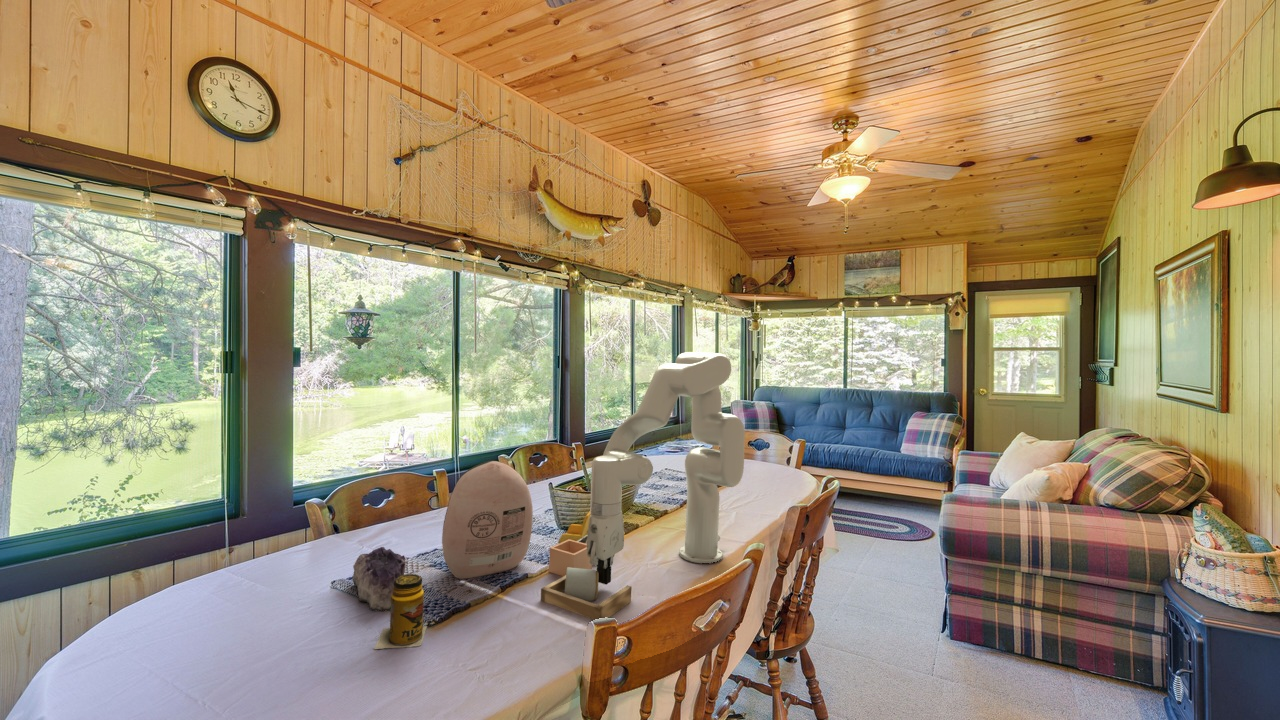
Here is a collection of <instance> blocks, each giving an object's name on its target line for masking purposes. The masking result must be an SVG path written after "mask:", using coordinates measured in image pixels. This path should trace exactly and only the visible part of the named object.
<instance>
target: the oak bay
mask: <svg viewBox="0 0 1280 720" xmlns="http://www.w3.org/2000/svg"><path fill="white" fill-rule="evenodd" d="M565 581H566V575H565V576H561V577H560V578H558V579H556V580H554V581H553V582H551V583H549V584H547V585H545V586H543V587H542V588H541V589H540V601H542V602H544V603H546V604H549V605H552V606H554V607H558V608H561V609H563V610H567V611H569V612H572V613H575V614H577V615H580V616H583V617H586V618H588V619H592V620H595V619H599V618H605V617H609V618H610V617H612V616H613V615H614V614H615V613H617V612H618V611H620V610H622V608H624V607H626V605H628V604H629V603H631V602H632V587H633V586H631V585H629V584H628V585H625V586H624V587H622V588H621V589H620V590H618V591H616V592H615V593H613V595H611V596H609V597H608V598H606V599H605V600H603V601H602V602H601V603H599V604H596V603H593V602H591V601H585V600H582V599H579V598H576V597H573V596H570V595H567V594H564V593H565Z"/></svg>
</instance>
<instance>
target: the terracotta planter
mask: <svg viewBox="0 0 1280 720" xmlns="http://www.w3.org/2000/svg"><path fill="white" fill-rule="evenodd" d="M548 557H549V559H548V560H549V561H548V573H551V574H555V575H557V576H561V577H564V576H565V575H566V571H567V567H571V568H581V569H592V570H593V565H592V564H590V563H589V562H590V557H589V556H588V555H587V544H585V543H581V542H577V541H574V540H570V539H568V540H566V541H564V542H562V543H557V544H555V545H553V546H551V547H549V556H548Z"/></svg>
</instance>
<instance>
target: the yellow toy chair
mask: <svg viewBox="0 0 1280 720" xmlns="http://www.w3.org/2000/svg"><path fill="white" fill-rule="evenodd" d="M590 515H591V514H590V510H589V511H588V513H586V515H585V516H584V518H583V522H582V524H577V523H575V524H574V523H571V524H570V525H569V526H568V529H567V531H566V533H562V534H561V535H560V538H559V540H558V541H557V544H560V543H562V542H564V541H566V540H568V539H570V540H574V541H578V540H580V539H581V538H582V537H584V536H585V535H587V534H588V526H589V520H590Z"/></svg>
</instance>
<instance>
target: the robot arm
mask: <svg viewBox="0 0 1280 720" xmlns="http://www.w3.org/2000/svg"><path fill="white" fill-rule="evenodd" d="M731 373H732V363H731V361H730V359H729V357H727V356H726V355H725V354H722V353H719V352H701V351H687V352H682V353H679V354H678V355H677V357H676V358H675V362H674V363H672V362H671V363H663V364H661V365H659V366H658V367H657V368H656V369H655V371H654V374H653V375H652V378H651V380H650V382H649V385H648V387H647V389H646V391H645V393H644V395H643V398H642V400H641V402H640V405H639V406H638V408H637V410H636V411H635V412H634V413H633V414H631V415H630V416H629V417H628V418H627V419H625V421H623V422H622V423H621V424H620V425H619V426H618V427H616V429H615V430H614V431H613V433H612V434H611V436H610V438H609V441H608V442H607V443H606V447H605V449H604V451H603V454H602V455H599V456H596V457H594V458H593V460H592V461H591V474H590V475H591V476H590V477H591V478H590V507H589V509H590V510H589V511H590V514H591V515H590V520H589V526H588V534H587V555H588V556H589V557H590V562H589V563H590V564H592V566H595V567H596V571H597V572H598V573H599V580H598V584H599V583H600V584H603V585H608V584H610V583H611V581H612V566H613V563H614V557H615V555H616V554H618V553H620V552H622V550H623V549H624V547H625V528H624V526H625V525H624V516H623V511H622V496H623V495H622V493H623V491H622V490H623V486H639V485H644V484H645V483H646V482H648V481H649V479H651V477H652V475H653V472H654V466H653V463H652V461H651V460H650V459H649V458H648V457H647V456H645V455H643V454H639V453H636V452H632V451H629V450H630V448H631V447H632V446H633V444H634V443H635V442H636V441H637V440H638V439H639V438H640V437H642V436H644V435H646V434H648V433H650V432H653V431H656V430H658V429H661V428H663V427H665V426H666V425H667V424H668V422H669V420H670V417H671V415H672V412H673V411H674V409H675V406H676V404H677V401H678V399H679V397H688V398H691V425H690V426H691V436H692V439H694V440H695V441H696V442H698V443H701V444H705V445H709V446H715V447H719V449H714V448H709V447H701V446H699V447H694V448H692V449H690V450H689V451H688V452H687V454H686V455H685V459H684V472H685V478H686V490H687V491H686V511H685V535H684V545H683V546H681V547H680V548H679V552H678V553H679V557H681V558H682V559H684V560H685V561H688V562H690V563H695V564H702V563H709V564H714V563H713V562H715V563H718V562H720V561H721V560H723V554H724V553H723V552H722V551H721V549H719V548H718V545H719V544H718V543H719V541H720V540H721V537H720V535H719V525H720V524H719V522H720V521H719V520H720V502H721V501H720V499H721V496H720V491H719V488H718V486H721V487H725V488H734V487H737V485H739V484H740V483H741V481H742V479H743V474H744V468H745V466H744V465H745V449H746V448H745V447H746V446H745V445H746V444H745V443H746V441H745V440H746V433H745V426H744V424H743V421H742V420H741V418H739V417H738V416H737V415H734V414H732V413H726V412H725V413H724V412H723V410H722V393H721V390H720V386H721V385H723V384H725V383H726V381H728V380H729V378H730V376H731ZM720 559H721V560H720ZM719 560H720V561H719ZM717 561H718V562H717ZM711 562H712V563H711Z"/></svg>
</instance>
